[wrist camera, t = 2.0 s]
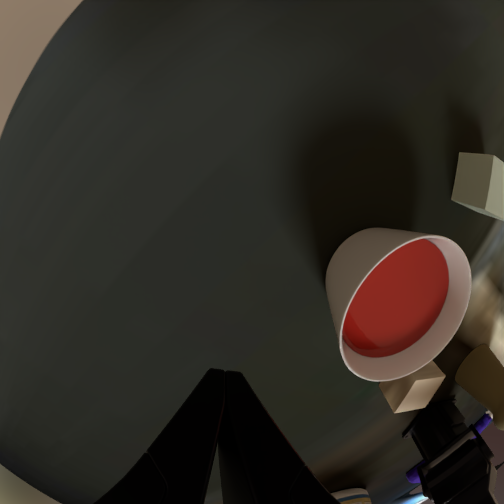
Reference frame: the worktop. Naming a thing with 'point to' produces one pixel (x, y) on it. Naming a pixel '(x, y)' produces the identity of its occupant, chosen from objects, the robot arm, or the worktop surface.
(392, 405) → the birch block
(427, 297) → the candle
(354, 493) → the supplement tub
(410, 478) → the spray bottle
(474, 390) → the cork
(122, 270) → the worktop surface
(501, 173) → the sage block
